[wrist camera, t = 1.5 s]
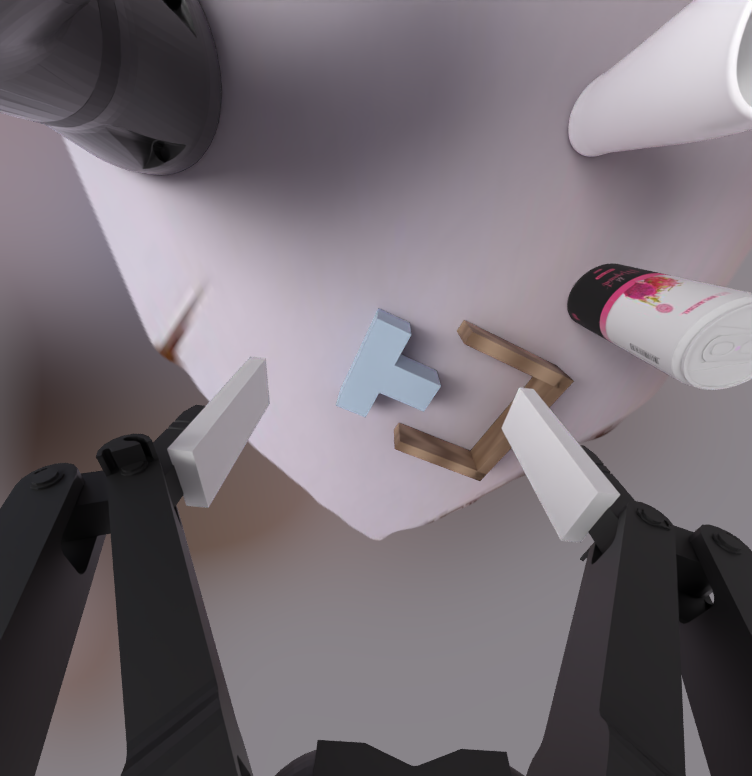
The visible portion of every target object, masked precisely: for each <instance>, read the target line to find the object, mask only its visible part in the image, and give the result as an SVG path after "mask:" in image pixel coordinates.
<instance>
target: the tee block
mask: <svg viewBox="0 0 752 776" xmlns="http://www.w3.org/2000/svg"><path fill="white" fill-rule="evenodd" d="M410 336H411V329H410V323H409V322H407V321H405V320H403V319H401V318H398V317H396V316H394V315H392V314H390V313H388V312H386V311H384V310H382V309H379V308H378V310H377V312H376V314H375V317H374V319H373V321H372V323H371V325H370V327H369V329H368V331H367V334H366V336H365V338H364V340H363V342H362V344H361V346H360V349H359V351H358V353H357V355H356V357H355V359H354V361H353V363H352V366H351V368H350V370H349V372H348V374H347V376H346V378H345V381H344V383H343V385H342V387H341V389H340V392H339V396H338V399H337V402H336V406H338V407H341V408H343V409H346V410H348V411H351V412H353V413H356V414H358V415H361V416H363V417H366V416H367V414H368V412H369V410H370V408H371V407H372V405H373V403H374V401H375V399H376V398H377V396H378V394H379V393H381V394H383V395H385V396H388V397H390V398H393V399H395V400H397V401H400V402H402V403H404V404H407V405H409V406H412V407H414V408H416V409H419V410H421V411H423V412H424V411H425V409H426V408H427V406H428V405H429V403H430V402H431V400H432V399H433V397H434V396H435V394H436V393H437V391H438V390H439V388H440V387H441V384H440V381H439V377H438V374H437V371H436V370H434V369H432V368H430V367H428V366H426V365H423V364H421V363H419V362H417V361H415V360H412V359H410V358H408V357H406V356H404V355H401V353H402V351H403V349H404V347H405V345H406V344H407V342H408V340H409V338H410Z"/></svg>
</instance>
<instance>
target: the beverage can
mask: <svg viewBox="0 0 752 776" xmlns="http://www.w3.org/2000/svg"><path fill="white" fill-rule="evenodd" d="M567 308H568V312H569V315H570V317H571V318H572V319H573V320H574V321H575V322H576V323H578V324H580V325H582V326H583V327H585V328H587V329H589V330H590V331H592V332H594V333H596V334H598V335H599V336H601V337H603V338H605V339H606V340H608V341H610V342H612V343H613V344H615V345H617V346H619V347H620V348H622V349H624V350H626V351H627V352H629V353H631V354H633V355H634V356H636V357H638V358H640V359H641V360H643V361H645V362H647V363H649V364H650V365H652V366H654V367H656V368H657V369H659V370H661V371H663V372H664V373H666V374H668V375H670V376H671V377H673V378H675V379H677V380H678V381H680V382H682V383H684V384H686V385H690V386H695V387H697V388H700V389H705V390H719V389H725V388H730V387H733V386H736V385H739V384H742V383H744V382H746V381H749V380H750V379H752V293H750V292H745V291H740V290H736V289H731V288H726V287H722V286H717V285H712V284H708V283H703V282H698V281H694V280H689V279H685V278H680V277H675V276H671V275H666V274H661V273H657V272H652V271H647V270H643V269H638V268H633V267H629V266H624V265H619V264H605V265H601V266H598V267H596V268H594V269H592V270H590V271H588V272H587V273H586V274H584V275H583V276H582V277H581V278H580V279H579V280H578V281H577V282H576V284H575V285H574V287H573V288H572V290H571V292H570V295H569V298H568V303H567Z"/></svg>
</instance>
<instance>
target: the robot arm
mask: <svg viewBox="0 0 752 776" xmlns="http://www.w3.org/2000/svg"><path fill="white" fill-rule="evenodd" d="M220 108H221V76H220V68H219V62H218V57H217V52H216V48H215V44H214V40H213V37H212V34H211V31H210V28H209V25H208V22H207V20H206V17H205V14H204V12H203V10H202V8H201V5H200V3H199V1H198V0H0V113H2V114H7V115H10V116H14V117H18V118H22V119H26V120H30V121H34V122H38V123H41V124H45V125H46V126H48V127H50V128H51V129H53V130H54V131H56V132H57V133H59V134H61V135H62V136H64V137H65V138H67V139H69V140H70V141H72V142H73V143H75V144H77V145H78V146H80V147H81V148H83V149H85V150H86V151H88V152H89V153H91V154H93V155H94V156H96V157H98V158H100V159H102V160H103V161H105V162H108V163H110V164H112V165H115V166H117V167H120V168H123V169H126V170H130V171H135V172H141V173H146V174H153V175H168V174H174V173H177V172H180V171H183V170H185V169H187V168H189V167H190V166H192V165H193V164H194V163H196V162H197V161H198V160H199V159H200V158H201V157H202V156H203V154H204V153H205V152H206V150H207V149H208V147H209V145H210V143H211V141H212V139H213V137H214V134H215V132H216V128H217V125H218V121H219V115H220ZM269 404H270V401H269V390H268V379H267V368H266V358H257V357H250V358H249V359H248V360H247V361H246V362H245V363H244V364H243V365H242V367H241V368H240V369H239V370H238V371H237V372H236V373H235V374H234V375H233V377H232V378H231V379H230V380H229V381H228V382H227V383H226V384H225V385H224V387H223V388H222V389H221V390H220V391H219V392H218V393H217V394H216V395H215V396H214V398H213V399H212V400H211V401H210V402H209V403H208V404H207V405H206V406H201V405H195V406H193V407H191V408H189V409H188V410H186V411H184V412H183V413H182V414H181V415H180V416H179V417H178V418H177V419H176V420H175V422H173V423H172V424H171V425H170V426H169V428H168V429H166V430H165V431H164V432H163V433H162V434H161V435H160V436H159V437H158V438H157V439H156V440H155V441H154V442H152V440H151V439H150V437H149V436H146V435H144V434H130V435H124V436H121V437H119V438H116V439H113V440H111V441H110V442H108V443H106V444H104V445H103V446H102V447H101V448H100V449H99V450H98V452H97V455H96V458H97V459H98V462H99V463H100V465H101V467H102V469H103V471H96V472H89V473H82V474H81V473H80V472H79V470H78V468H77V467H76V466H75V465H74V464H69V463H58V464H53V465H49V466H45V467H42V468H40V469H38V470H36V471H33V472H31V473H30V474H28V475H27V476H25V477H24V478H22V479H21V480H20V481H19V482H18V483H17V484H16V485H15V487H14V488H13V490H12V491H11V493H10V494H9V496H8V498H7V499H6V501H5V502H4V504H3V505H2V507H1V508H0V776H35V772H36V769H37V766H38V762H39V759H40V756H41V752H42V749H43V746H44V742H45V739H46V735H47V732H48V729H49V725H50V722H51V718H52V715H53V712H54V708H55V705H56V702H57V698H58V695H59V692H60V688H61V685H62V681H63V678H64V675H65V671H66V668H67V664H68V661H69V658H70V654H71V651H72V648H73V644H74V641H75V638H76V634H77V630H78V627H79V624H80V620H81V617H82V614H83V610H84V607H85V604H86V600H87V597H88V594H89V590H90V587H91V583H92V580H93V576H94V573H95V570H96V567H97V563H98V560H99V556H100V553H101V550H102V546H103V543H104V540H105V536H106V534H111V543H112V557H113V570H114V583H115V596H116V610H117V621H118V622H117V623H118V636H119V647H120V648H119V649H120V662H121V675H122V688H123V702H124V714H125V728H126V741H127V758H126V764H125V766H124V769H123V771H122V774H121V776H253V773H252V770H251V766H250V763H249V759H248V756H247V752H246V749H245V746H244V743H243V739H242V736H241V733H240V731H239V727H238V724H237V721H236V718H235V714H234V710H233V707H232V703H231V699H230V696H229V693H228V689H227V685H226V681H225V678H224V674H223V671H222V667H221V663H220V660H219V656H218V653H217V649H216V645H215V642H214V638H213V635H212V631H211V627H210V624H209V620H208V616H207V613H206V609H205V606H204V602H203V598H202V595H201V591H200V588H199V584H198V581H197V577H196V573H195V570H194V566H193V562H192V559H191V555H190V551H189V548H188V544H187V541H186V537H185V533H184V530H183V526H182V523H181V519H180V516H179V512H178V509H177V506H176V505H177V503H178V502H179V500H180V499H181V497H182V496H184V499H185V502H186V505H187V506H197V507H206V508H208V507H209V506H210V504H211V502H212V501H213V499H214V497H215V496H216V494H217V492H218V490H219V489H220V487H221V485H222V484H223V482H224V480H225V478H226V477H227V475H228V473H229V472H230V470H231V468H232V467H233V465H234V463H235V461H236V460H237V458H238V456H239V454H240V453H241V451H242V450H243V448H244V446H245V444H246V443H247V441H248V439H249V438H250V436H251V434H252V433H253V431H254V429H255V427H256V426H257V424H258V422H259V421H260V419H261V417H262V415H263V414H264V412H265V410H266V409H267V407H268V405H269ZM501 429H502V430H503V432H504V434H505V436H506V438H507V440H508V442H509V444H510V445H511V447H512V449H513V451H514V453H515V455H516V457H517V459H518V461H519V462H520V464H521V466H522V468H523V470H524V472H525V474H526V476H527V478H528V479H529V481H530V483H531V485H532V487H533V489H534V491H535V492H536V494H537V496H538V498H539V500H540V502H541V504H542V506H543V507H544V510H545V511H546V513H547V515H548V517H549V519H550V521H551V523H552V525H553V527H554V528H555V530H556V532H557V534H558V536H559V538H560V540H562V541H571V542H581V541H582V540H583V539H584V538H585V536H586V535H587V534H588V533H589V534H590V535H591V537H592V538H593V540H594V543H593V544H592V545H591V546H590V548H589V549H588V550H587V551H586V552H585V553H584V554H583V556H582V557H581V558H580V560H582V561H584V560H585V559H586V558H587V562H586V565H585V570H584V574H583V578H582V582H581V586H580V590H579V595H578V599H577V603H576V607H575V611H574V615H573V619H572V623H571V627H570V631H569V635H568V640H567V644H566V648H565V652H564V656H563V660H562V664H561V668H560V673H559V677H558V681H557V685H556V689H555V693H554V697H553V701H552V706H551V710H550V714H549V718H548V722H547V726H546V730H545V734H544V738H543V741H542V743H541V746H540V748H539V749H538V751H537V753H536V754H535V756H534V758H533V759H532V762H531V764H530V766H529V769H528V772H527V775H526V776H686V775H685V752H684V728H683V706H682V705H683V704H682V681H681V675H682V678H683V682H684V685H685V689H686V692H687V695H688V699H689V702H690V706H691V709H692V712H693V716H694V719H695V723H696V726H697V730H698V733H699V736H700V740H701V743H702V747H703V750H704V754H705V757H706V760H707V764H708V767H709V770H710V774H711V776H752V551H751V550H750V549H749V547H748V546H746V545H745V544H744V543H743V542H742V541H741V540H740V539H738V538H737V537H736V536H733V535H732V534H731V533H729V532H727V531H725V530H722V529H721V528H718V527H715V526H712V525H702V526H701V527H700V528H698V529H697V530H696V531H695V532H691V531H688V530H685V529H683V528H679V527H677V526H674V525H673V524H672V523H671V522H670V521H669V519H668V518H667V517H665V516H664V515H663V514H662V513H661V512H659V511H658V510H656V509H655V508H653V507H651V506H649V505H647V504H644V503H642V502H636V501H634V499H633V498H632V497H631V495H630V494H629V493H628V492H627V491H626V490H625V488H624V487H623V486H622V485H621V484H620V483H619V481H618V480H617V479H616V478H615V477H614V476H613V475H612V474H610V471H609V470H608V469H607V467H606V466H604V465H603V463H602V462H601V460H599V458H598V457H597V456H596V455H595V454H594V453H593V452H592V451H590V450H589V449H587V448H586V447H585V446H582V445H579V444H578V442H577V441H576V440H575V439H574V438H573V436H572V435H571V434H570V433H569V432H568V430H567V429H566V428H565V427H564V425H563V424H562V423H561V422H560V421H559V419H558V418H557V417H556V416H555V415H554V413H553V412H552V411H551V410H550V408H549V407H548V406H547V405H546V404H545V402H544V401H543V400H542V399H541V398H540V396H539V395H538V394H537V393H536V391H535V390H534V389H529V388H520V387H519V389H518V391H517V394H516V396H515V398H514V401H513V403H512V405H511V407H510V410H509V412H508V414H507V417H506V419H505V421H504V423H503V426H502V428H501ZM712 592H713V593H714V603H712V601H711V599H710V597H709V594H711V593H712ZM275 776H524V775H523V774H521V773H520V772H518V771H517V770H515V769H514V768H512V767H510V766H509V761H508V757H507V752H497V751H483V750H468V749H460V750H457V751H455V752H452V753H450V754H447V755H445V756H442V757H439V758H437V759H434V760H432V761H429V762H427V763H424V764H421V765H419V766H411V765H409V764H407V763H405V762H403V761H401V760H399V759H397V758H395V757H392V756H390V755H388V754H386V753H384V752H382V751H380V750H378V749H376V748H374V747H372V746H370V745H368V744H366V743H357V742H342V741H325V740H318V742H317V750H314V751H311V752H309V753H307V754H304V755H302V756H300V757H298V758H297V759H295V760H293V761H292V762H290V763H289V764H288V765H287V766H285V767H284V768H283V769H281V770H280V771H279V772H278V773H277V774H276V775H275Z"/></svg>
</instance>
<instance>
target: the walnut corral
mask: <svg viewBox="0 0 752 776" xmlns="http://www.w3.org/2000/svg"><path fill="white" fill-rule="evenodd" d="M457 332H458V334H459V336H460V337H461V339H462V341H463V342H464V344H466V345H468V346H470V347H472V348H474V349H476V350H478V351H480V352H482V353H485V354H487V355H489V356H491V357H493V358H495V359H497V360H499V361H501V362H503V363H506V364H508V365H510V366H512V367H514V368H516V369H518V370H520V371H522V372H525V373H527V374H529V375H531V376H533V378H532V379H531V380H530V381H529V382H528V383H527V385H526V386H525V387H524V388H529V389H534V390H535V391H536V393H537V394H538V395H539V396H540V398H541V399H542V400H543V401H544V402H545V404H546V405H547V406H548V407H550V406H551V405H552V404H553V403H554V402H555V401H556V400H557V399H558V398H559V397H560V396H561V395H562V394H563V392H564V391H565V390H566V389H567V388H568V387H569V386H570V385H571V384H572V383H573V382H574V381H573V380H572V379H571V378H570V377H569V376H568V375H567V374H565V373H564V372H563V371H562V370H561V369H560V368H559V367H558V366H556V365H554V364H552V363H550V362H548V361H546V360H544V359H542V358H540V357H538V356H536V355H534V354H532V353H530V352H528V351H526V350H524V349H522V348H520V347H518V346H516V345H514V344H512V343H510V342H508V341H506V340H504V339H502V338H500V337H498V336H496V335H494V334H492V333H490V332H488V331H485V330H483V329H481V328H479V327H477V326H475V325H473V324H471V323H469V322H467V321H465V320H464V321H463V322H462V324H461V325H460V327H459V328H458V330H457ZM513 401H514V400H513ZM513 401H512V402H511V403H510V405H509V406H508V407H507V408H506V409H505V411H504V412H503V413H502V414H501V415H500V416H499V418H498V419H497V420H496V421H495V422H494V423H493V425H492V426H491V427H490V428H489V429H488V431H487V432H486V433H485V434H484V435H483V436H482V438H481V439H480V440H479V441H478V442H477V444H476V445H475V446H474V447H473V448H472V449H471V451H469V450H467V449H464V448H462V447H459V446H457V445H454V444H452V443H449V442H447V441H444V440H441V439H439V438H436V437H434V436H431V435H429V434H426V433H424V432H421V431H419V430H416V429H414V428H411V427H409V426H406V425H404V424H401V423H398V425H397V426H396V428H395V429H394V444H395V449H396V450H398V451H401V452H404V453H406V454H409V455H412V456H414V457H417V458H420V459H422V460H425V461H428V462H430V463H433V464H436V465H438V466H441V467H444V468H446V469H449V470H452V471H454V472H457V473H460V474H462V475H465V476H468V477H470V478H473V479H476V480H478V481H481V480H482V479H483V478H484V477H485V475H486V474H487V473H488V472H489V471H490V470H491V469H492V468H493V467H494V466H495V465H496V464H497V463H498V462H499V461H500V459H501V458H502V457H503V456H504V455H505V454H506V453H507V452H508V451H509V450H510V449H511V448H512V447H511V445H510V444H509V442H508V440H507V438H506V436H505V434H504V432H503V430H502V429H501V428H502V426H503V423H504V421H505V419H506V417H507V414H508V412H509V410H510V407H511V405H512V403H513Z"/></svg>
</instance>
